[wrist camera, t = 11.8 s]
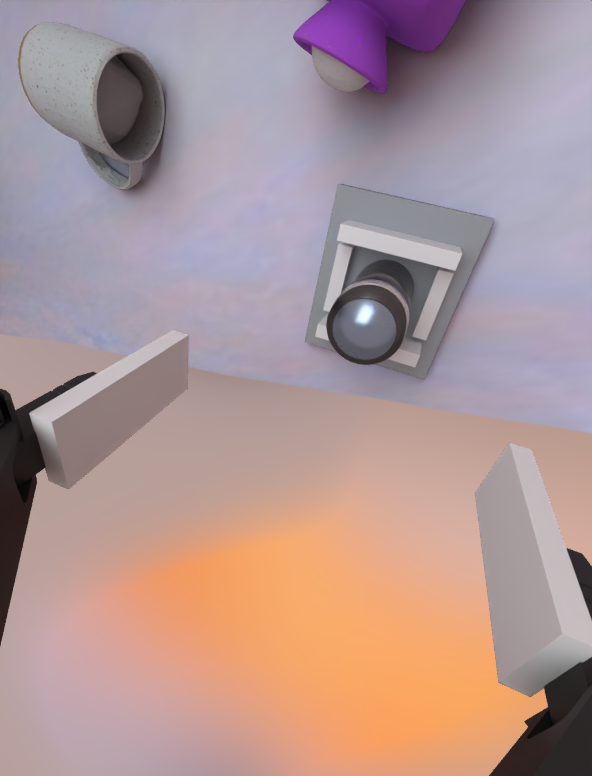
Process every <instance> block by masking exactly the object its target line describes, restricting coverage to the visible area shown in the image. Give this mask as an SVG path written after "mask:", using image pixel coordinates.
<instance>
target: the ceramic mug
mask: <svg viewBox="0 0 592 776" xmlns="http://www.w3.org/2000/svg"><path fill="white" fill-rule="evenodd" d="M18 63H19V74H20V79H21V82H22V86H23V89H24V92H25V94H26V96H27V97H28V99H29V101H30V103H31V105H32V106H33V108H34V109H35V110H36V111H37V113H38V114H39V115H40V116H41V117H42V118H43V119H44V120H45V121H46V122H47V123H48V124H50V125H51V126H53V127H54V128H55V129H57V130H58V131H60V132H61V133H63V134H65V135H67V136H69V137H71V138H73V139H75V140H78V141H79V144H80V146H81V149H82V151H83V153H84V155H85V157H86V159H87V161H88V163H89V164H90V165H91V167H92V168H93V169H94V170H95V172H96V173H97V174H98V175H99V176H100V177H101V178H102V179H103V180H105V181H106V182H107V183H109V184H110V185H112V186H114V187H115V188H118V189H121V190H126V189H129V188H131V187H132V186H134V185H135V184H137V183H138V182H139V181H140V179H141V177H142V173H143V162H144V161H146V160H147V159H148V158H149V157H150V156H151V155H152V154H153V152H154V151H155V149H156V147H157V146H158V144H159V141H160V138H161V135H162V131H163V125H164V116H165V104H164V96H163V91H162V87H161V83H160V80H159V77H158V75H157V73H156V71H155V69H154V68H153V66H152V64H151V63H150V62H149V60H148V59H147V58H146V57H145V56H144V55H143V54H142V53H141V52H139V51H138V50H136V49H134V48H132V47H130V46H127V45H124V44H121V43H118V42H115V41H112V40H109V39H106V38H104V37H101V36H98V35H95V34H92V33H88V32H86V31H83V30H80V29H78V28H75V27H72V26H70V25H66V24H61V23H50V22H48V23H41V24H39V25H36V26H34V27H33V28H32V29H31V30H29V31H28V32H27V33H26V35H25V36H24V38H23V40H22V42H21V45H20V50H19V58H18ZM99 152H101V153H103V154H105V155H107V156H109V157H110V158H112V159H114V160H116V161H119V162H121V163H124V164H128V165H129V179H128V178H126V177H124V176H122V175H121V174H119V173H117V172H116V171H114V170H113V169H112V168H110V167H109V166H108V165H107V164H106V163H105V161H104V160H103V158H102V157H101V155H100V153H99Z"/></svg>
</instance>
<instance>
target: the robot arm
mask: <svg viewBox="0 0 592 776" xmlns="http://www.w3.org/2000/svg"><path fill="white" fill-rule="evenodd" d="M188 337H189V335H187V334H184V333H181V332H178V331H175V330H172V331H170V332H168V333H167V334H165V335H163V336H161V337H160V338H158V339H156V340H154V341H153V342H151V343H149V344H148V345H146V346H144V347H142V348H141V349H139V350H137V351H135V352H134V353H132V354H130V355H129V356H127V357H125V358H123V359H122V360H120V361H118V362H116V363H115V364H113V365H111V366H110V367H108V368H106V369H104V370H103V371H101V372H99V373H94V372H91V373H87V374H84V375H81V376H77V377H75V378H73V379H71V380H70V381H68V382H66V383H64V385H63V386H62V385H61V386H59V387H57V388H55V389H54V390H53V391H50V392H48V393H46V394H44V395H43V396H41V397H39V398H37V399H35V400H33V401H32V402H30V403H28V404H26V405H24V406H23V407H21V408H19V409H17V410H15V409H14V405H13V402H12V399H11V396H10V394H9V393H8V392H7V391H6V390H3V389H0V645H1V640H2V636H3V632H4V627H5V623H6V618H7V614H8V609H9V605H10V600H11V596H12V591H13V587H14V583H15V578H16V573H17V569H18V564H19V560H20V556H21V551H22V547H23V542H24V538H25V533H26V529H27V525H28V520H29V515H30V511H31V507H32V502H33V498H34V493H35V489H36V484H37V478H36V474H37V473H38V472H40V471H41V470H42V469H44V468H45V469H46V473H47V476H48V480H49V481H51V482H53V483H55V484H58V485H60V486H62V487H64V488H67V489H70V488H71V487H72V486H73V485H74V484H76V483H77V482H78V481H79V480H80V479H82V477H84V476H85V475H86V474H87V473H89V472H90V471H91V470H92V469H93V468H94V467H96V466H97V465H98V464H99V463H100V462H101V461H103V460H104V459H105V458H106V457H107V456H109V455H110V454H111V453H112V452H113V451H115V450H116V449H117V448H118V447H119V446H120V445H122V444H123V443H124V442H125V441H126V440H127V439H129V438H130V437H131V436H132V435H133V434H135V433H136V432H137V431H138V430H139V429H140V428H142V427H143V426H144V425H145V424H146V423H147V422H149V421H150V420H151V419H152V418H153V417H155V416H156V415H157V414H158V413H159V412H160V411H162V410H163V409H164V408H165V407H166V406H168V405H169V404H170V403H171V402H172V401H173V400H174V399H176V398H177V397H178V396H179V395H180V394H182V393H183V392H184V391H185V390H186V389H188ZM475 496H476V503H477V504H476V505H477V513H478V521H479V529H480V537H481V545H482V553H483V561H484V569H485V578H486V586H487V594H488V601H489V610H490V618H491V626H492V634H493V642H494V651H495V659H496V667H497V675H498V683H500V684H502V685H505V686H507V687H509V688H511V689H514V690H516V691H518V692H520V693H522V694H525V695H527V696H529V697H531V696H533V695H534V694H536V693H537V692H539V691H540V690H542V689H543V688H544V689H545V694H546V699H547V703H548V708H546V709H544V710H543V711H541V712H539V713H537V714H536V715H534V716H533V717H531V718H529V719H527V720H526V721H525V723H526V724H527V726H528V728H527V729H526V731H525V732H524V733H523V734H522V736H521V737H520V738H519V739H518V741H517V742H516V743H515V744H514V746H513V747H512V748H511V749H510V751H509V752H508V753H507V754H506V755H505V757H504V758H503V759H502V760H501V762H500V763H499V764H498V765H497V767H496V768H495V769H494V770H493V772H492V773H491V774H490V775H489V776H592V566H591V565H590V563H589V562H588V561H587V559H586V558H585V557H584V556H583V554H581V553H579V552H576V551H573V550H571V549H568V548H566V546H565V543H564V540H563V537H562V535H561V532H560V529H559V526H558V523H557V520H556V517H555V515H554V512H553V509H552V506H551V503H550V500H549V497H548V495H547V492H546V489H545V486H544V483H543V480H542V478H541V475H540V472H539V469H538V466H537V463H536V461H535V458H534V455H533V452H532V450H531V449H528V448H525V447H522V446H519V445H516V444H513V443H509V444H508V445H507V447H506V448H505V450H504V451H503V453H502V454H501V456H500V457H499V459H498V460H497V462H496V463H495V464H494V466H493V467H492V469H491V470H490V472H489V473H488V475H487V476H486V478H485V479H484V481H483V482H482V484H481V485H480V487H479V488H478V489H477V491H476V492H475Z"/></svg>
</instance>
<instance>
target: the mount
mask: <svg viewBox="0 0 592 776" xmlns="http://www.w3.org/2000/svg"><path fill="white" fill-rule="evenodd" d="M493 222H494V219H493V218H489V217H485V216H481V215H476V214H472V213H467V212H463V211H458V210H454V209H450V208H445V207H441V206H436V205H432V204H428V203H423V202H419V201H414V200H410V199H405V198H401V197H397V196H392V195H388V194H383V193H379V192H375V191H370V190H366V189H361V188H357V187H352V186H348V185H344V184H338V187H337V191H336V196H335V201H334V206H333V210H332V215H331V220H330V225H329V229H328V234H327V239H326V243H325V248H324V253H323V258H322V262H321V267H320V272H319V277H318V281H317V286H316V291H315V296H314V300H313V305H312V310H311V315H310V319H309V324H308V329H307V334H306V338H305V342H307V343H310V344H313V345H316V346H319V347H323V348H326V349H329V350H332V351H335V352H337V351H336V350H335V349H334V348H333V346H332V345H331V343H330V341H329V338H328V335H327V329H326V323H327V317H328V314H329V312H330V310H331V308H332V306H333V304H334V302H335V301H336V299H337V298H338V296H339V295H340V294H341V293H342V292H343V291H344V290H345V289H346V288H347V287H349V286H350V284H351V283H352V282H353V281H354V280H355V278H356V277H357V276H358V275H359V274H360V272H361V271H362V270H363V269H364V268H365V267H366V266H367V265H369V264H371V263H373V262H375V261H378V260H385V259H386V260H393V261H396V262H398V263H400V264H402V265H403V266H405V267H406V268H407V270H408V271H409V272H410V274H411V276H412V278H413V282H414V294H413V298H412V303H411V307H410V312H409V324H408V329H407V332H406V335H405V337H404V339H403V341H402V344H401V346H400V347H399V349H398V350H397V351H396V352H395V353H394V354H393V355H392V356H391V357H390V358H388V359H387V360H385V361H382V362H380V363H376V365H379V366H383V367H386V368H389V369H392V370H395V371H398V372H402V373H405V374H408V375H411V376H414V377H417V378H420V379H424V378H425V376H426V374H427V372H428V369H429V367H430V365H431V362H432V360H433V358H434V356H435V353H436V351H437V349H438V347H439V344H440V342H441V340H442V338H443V335H444V333H445V331H446V329H447V326H448V324H449V322H450V319H451V317H452V315H453V313H454V310H455V308H456V306H457V304H458V301H459V299H460V297H461V295H462V292H463V290H464V288H465V286H466V283H467V281H468V279H469V276H470V274H471V272H472V270H473V267H474V265H475V263H476V261H477V258H478V256H479V254H480V252H481V249H482V247H483V245H484V242H485V240H486V238H487V236H488V233H489V231H490V229H491V227H492V224H493Z"/></svg>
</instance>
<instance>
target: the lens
mask: <svg viewBox="0 0 592 776" xmlns="http://www.w3.org/2000/svg"><path fill="white" fill-rule="evenodd" d="M413 294H414V282H413V278H412V276H411V274H410V272H409V271H408V270H407V268H406V267H405V266H403V265H402V264H400V263H398V262H396V261H393V260H386V259H385V260H378V261H375V262H373V263H371V264H369V265H367V266H366V267H365V268H364V269H363V270H362V271H361V272H360V274H359V275H358V276H357V277H356V278H355V280H354V281H353V282H352V283H351V284H350V286H349V287H347V288H346V289H345V290H344V291H343V292H342V293H341V294H340V295H339V296H338V298H337V299H336V301H335V302H334V304H333V306H332V308H331V310H330V312H329V314H328V317H327V323H326V329H327V335H328V338H329V341H330V343H331V345H332V346H333V348H334V349H335V350H336V351H337V353H338V354H340V355H341V356H342V357H344V358H345V359H347V360H349V361H351V362H354V363H357V364H363V365H370V364H376V363H380V362H382V361H385V360H387V359H388V358H390V357H391V356H392V355H393V354H394V353H395V352H396V351H397V350H398V349H399V347H400V346H401V344H402V341H403V339H404V337H405V335H406V332H407V329H408V324H409V312H410V307H411V303H412V298H413Z"/></svg>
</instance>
